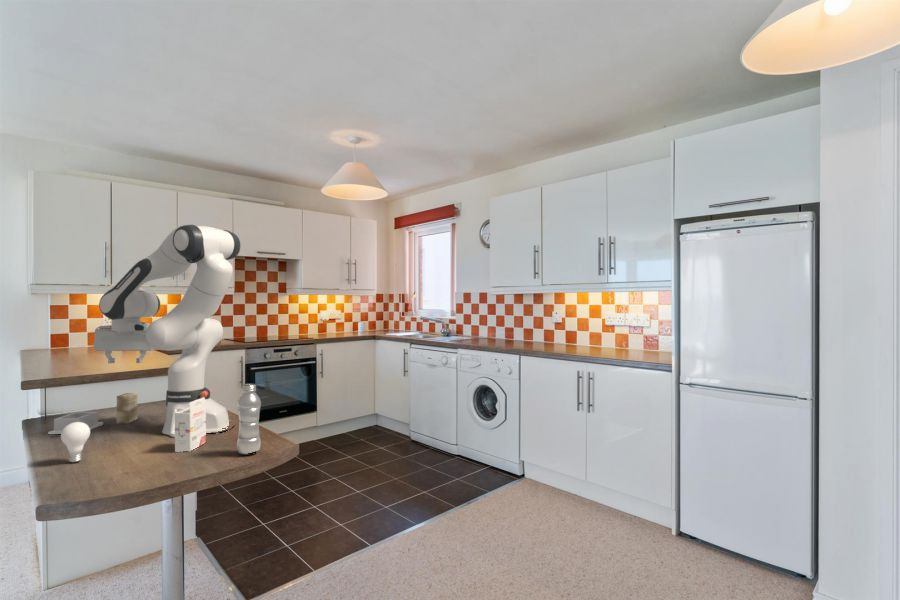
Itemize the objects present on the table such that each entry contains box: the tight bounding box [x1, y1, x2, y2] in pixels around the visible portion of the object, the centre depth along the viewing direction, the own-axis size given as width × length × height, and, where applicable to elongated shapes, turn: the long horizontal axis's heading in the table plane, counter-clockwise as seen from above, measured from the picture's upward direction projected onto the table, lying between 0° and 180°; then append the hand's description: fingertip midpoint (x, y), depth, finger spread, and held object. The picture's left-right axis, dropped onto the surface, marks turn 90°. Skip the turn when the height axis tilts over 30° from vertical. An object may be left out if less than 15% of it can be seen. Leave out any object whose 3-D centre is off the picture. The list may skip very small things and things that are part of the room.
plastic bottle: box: [236, 383, 262, 455], centre depth 133 cm, size 6×7×20 cm
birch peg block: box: [116, 392, 138, 425], centre depth 170 cm, size 4×6×10 cm, turn 8°
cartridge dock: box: [47, 411, 104, 435], centre depth 159 cm, size 10×12×5 cm
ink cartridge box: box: [174, 397, 207, 453], centre depth 138 cm, size 9×5×15 cm, turn 179°
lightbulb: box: [60, 422, 91, 464], centre depth 126 cm, size 6×6×11 cm
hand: (125, 363), depth 170 cm, fingers open, 8 cm apart
